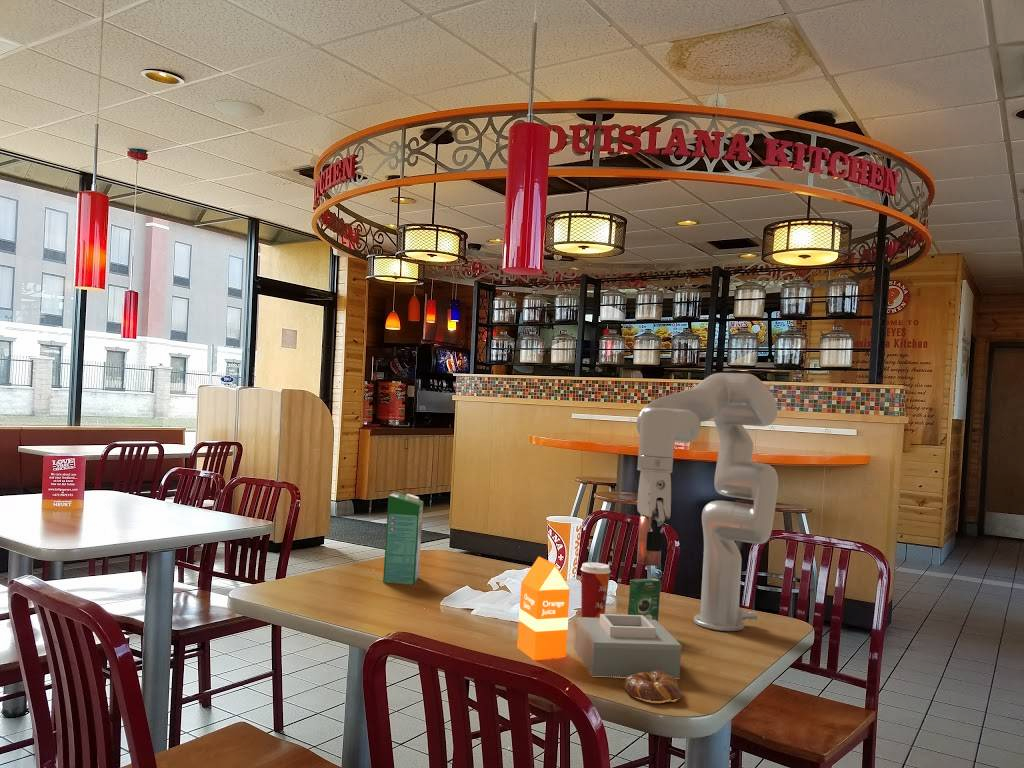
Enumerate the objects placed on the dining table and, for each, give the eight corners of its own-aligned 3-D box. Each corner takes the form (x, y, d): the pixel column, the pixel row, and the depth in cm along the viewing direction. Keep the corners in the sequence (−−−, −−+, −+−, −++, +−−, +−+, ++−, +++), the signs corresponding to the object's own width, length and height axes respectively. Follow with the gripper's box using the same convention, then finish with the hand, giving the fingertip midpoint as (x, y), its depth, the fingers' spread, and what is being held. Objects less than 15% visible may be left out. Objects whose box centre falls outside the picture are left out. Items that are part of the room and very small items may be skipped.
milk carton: (414, 584, 225) (420, 496, 226) (382, 582, 225) (388, 494, 226) (418, 577, 234) (424, 493, 235) (388, 575, 234) (393, 491, 235)
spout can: (656, 561, 174) (659, 510, 174) (663, 566, 169) (666, 513, 170) (634, 560, 174) (637, 509, 174) (640, 565, 169) (644, 512, 169)
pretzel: (628, 680, 159) (629, 661, 159) (683, 689, 155) (684, 670, 155) (618, 700, 147) (619, 680, 147) (678, 710, 144) (679, 690, 144)
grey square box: (653, 650, 178) (655, 610, 178) (679, 679, 160) (682, 635, 160) (574, 648, 176) (577, 608, 176) (591, 677, 158) (594, 632, 158)
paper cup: (606, 626, 195) (610, 569, 195) (575, 622, 196) (579, 566, 197) (609, 618, 202) (612, 563, 203) (579, 614, 204) (582, 560, 204)
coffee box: (650, 630, 194) (653, 576, 194) (658, 633, 192) (661, 579, 192) (625, 633, 190) (628, 579, 190) (633, 637, 187) (636, 581, 187)
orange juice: (533, 660, 166) (539, 564, 166) (516, 647, 174) (522, 556, 175) (566, 657, 169) (572, 564, 170) (548, 644, 177) (553, 555, 178)
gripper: (684, 468, 164) (679, 557, 163) (659, 462, 181) (654, 542, 180) (649, 466, 163) (643, 555, 163) (627, 460, 180) (622, 540, 179)
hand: (649, 547), depth 171 cm, fingers closed on spout can, 5 cm apart
